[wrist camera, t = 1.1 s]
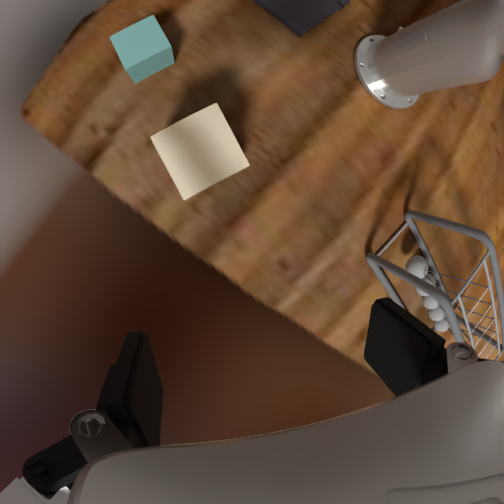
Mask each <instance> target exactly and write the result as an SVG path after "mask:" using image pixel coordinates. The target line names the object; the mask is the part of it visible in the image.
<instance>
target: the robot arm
mask: <svg viewBox="0 0 504 504" xmlns="http://www.w3.org/2000/svg"><path fill="white" fill-rule="evenodd" d="M503 57H504V0H461V1H459V2H457V3H455V4H453V5H451V6H449V7H447V8H444V9H442V10H440V11H438V12H435V13H433V14H431V15H429V16H427V17H425V18H423V19H421V20H419V21H417V22H415V23H413V24H411V25H409V26H407V27H405V28H403V27H398V30H397V32H395V33H393V34H392V35H390V36H388V37H386V36H382V35H371V36H368V37H366V38H364V39H363V40H362V41H360V42H359V44H358V45H357V47H356V49H355V54H354V64H355V68H356V72H357V74H358V77H359V79H360V81H361V83H362V84H363V86H364V87H365V89H366V90H367V91H368V93H369V94H370V95H371V96H372V97H373V98H374V99H376V100H377V101H378V102H380V103H381V104H383V105H385V106H387V107H390V108H394V109H402V108H407V107H410V106H412V105H413V104H414V103H415V102H416V101H417V99H418V97H419V95H420V94H423V93H427V92H432V91H436V90H441V89H446V88H451V87H457V86H462V85H468V84H474V83H480V82H485V81H488V80H490V79H491V78H493V77H494V76H495V74H496V73H497V72H498V70H499V68H500V66H501V63H502V60H503ZM445 341H446V340H445V339H443V338H442V337H441V336H439V335H438V334H437V333H436V332H434V331H433V330H432V329H430V328H429V327H428V326H426V325H425V324H424V323H422V322H421V321H420V320H418V319H417V318H416V317H414V316H413V315H412V314H410V313H409V312H408V311H406V310H405V309H404V308H402V307H401V306H400V305H398V304H397V303H396V302H394V301H393V300H392V299H390V298H388V297H386V298H381V299H377V300H376V301H375V302H374V304H373V305H372V307H371V314H370V321H369V327H368V333H367V339H366V345H365V350H364V358H365V360H366V361H367V363H368V364H369V365H370V366H371V367H372V369H373V370H374V371H375V372H376V373H377V374H378V376H379V377H380V378H381V379H382V380H383V382H384V383H385V384H386V385H387V386H388V388H389V389H390V390H391V391H392V392H393V393H394V395H395V396H396V397H394V398H391V399H388V400H386V401H383V402H381V403H378V404H375V405H372V406H369V407H366V408H364V409H361V410H358V411H355V412H351V413H348V414H345V415H342V416H339V417H335V418H332V419H328V420H325V421H321V422H318V423H314V424H309V425H306V426H301V427H297V428H293V429H288V430H283V431H278V432H273V433H268V434H263V435H257V436H251V437H244V438H237V439H229V440H222V441H213V442H204V443H193V444H178V445H164V446H160V431H161V416H162V404H163V386H162V383H161V380H160V376H159V373H158V370H157V366H156V363H155V359H154V356H153V352H152V348H151V345H150V341H149V337H148V335H144V334H143V332H142V331H137V332H128V333H127V335H126V338H125V341H124V343H123V346H122V349H121V352H120V355H119V357H118V360H117V363H116V365H111V366H110V368H109V371H108V374H107V377H106V380H105V382H104V386H103V388H102V391H101V394H100V397H99V401H98V404H97V407H96V410H94V409H93V410H92V409H91V410H85V411H82V412H80V413H78V414H77V415H75V416H74V417H73V419H72V420H71V422H70V426H69V430H70V433H71V435H70V436H68V437H66V438H64V439H63V440H61V441H59V442H57V443H55V444H53V445H52V446H50V447H48V448H46V449H44V450H42V451H40V452H38V453H37V454H35V455H33V456H31V457H30V458H28V459H27V461H26V462H25V463H24V466H23V476H24V477H22V478H21V479H20V480H19V479H18V478H16V479H15V480H14V481H13V482H12V483H11V484H10V485H9V486H8V487H7V488H6V489H4V490H3V491H2V492H1V494H0V504H504V361H496V360H488V359H481V358H478V357H477V353H476V351H475V349H474V348H473V347H472V346H470V345H468V344H466V343H462V342H454V343H451V344H449V345H448V346H447V349H446V348H444V344H445Z"/></svg>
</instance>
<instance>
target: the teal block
mask: <svg viewBox="0 0 504 504" xmlns="http://www.w3.org/2000/svg"><path fill="white" fill-rule="evenodd" d="M110 39H111V41H112V43H113V46H114V48H115V50H116V52H117V54H118V56H119V58H120V60H121V62H122V64H123V66H124V68H125V70H126V72H127V73H128V74H129V76H130V77H131V79H132V80H133V81H134V83H135V84H136V83H137V82H139V81H141V80H143V79H145V78H146V77H148V76H150V75H152V74H154V73H156V72H158V71H160V70H162V69H164V68H166V67H168V66H170V65H172V64H174V63H175V62H174V57H173V52H172V47H171V45H170V43H169V41H168V39H167V38H166V36H165V34H164V32H163V31H162V29H161V27H160V25H159V24H158V22H157V20H156V18H155V17H154V15H152V16H150V17H147V18H145V19H143V20H141V21H139V22H137V23H135V24H133V25H131V26H129V27H127V28H125V29H123V30H121V31H120V32H118V33H116V34H114V35H112V36H111V37H110Z"/></svg>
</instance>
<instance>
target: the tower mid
mask: <svg viewBox="0 0 504 504" xmlns="http://www.w3.org/2000/svg"><path fill="white" fill-rule="evenodd" d="M150 138H151V139H152V141H153V143H154V145H155V147H156V149H157V151H158V153H159V155H160V157H161V159H162V160H163V162H164V164H165V166H166V168H167V170H168V172H169V174H170V175H171V177H172V179H173V181H174V183H175V185H176V186H177V188H178V190H179V192H180V194H181V196H182V197H183V199H184V200H186V199H188V198H189V197H191V196H193V195H195V194H197V193H198V192H200V191H202V190H204V189H206V188H208V187H210V186H211V185H213V184H215V183H217V182H219V181H221V180H223V179H225V178H226V177H228V176H230V175H232V174H234V173H236V172H238V171H240V170H242V169H244V168H246V167H248V166H250V165H249V163H248V161H247V159H246V157H245V155H244V153H243V152H242V150H241V148H240V146H239V144H238V142H237V140H236V138H235V136H234V134H233V132H232V130H231V128H230V127H229V125H228V123H227V121H226V119H225V117H224V115H223V113H222V112H221V110H220V108H219V106H218V104H217V103H215V104H213V105H210V106H208V107H206V108H204V109H202V110H200V111H198V112H196V113H194V114H192V115H190V116H188V117H186V118H184V119H182V120H180V121H178V122H176V123H175V124H173V125H171V126H169V127H167V128H165V129H164V130H162V131H160V132H158V133H157V134H155V135H153V136H151V137H150Z"/></svg>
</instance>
